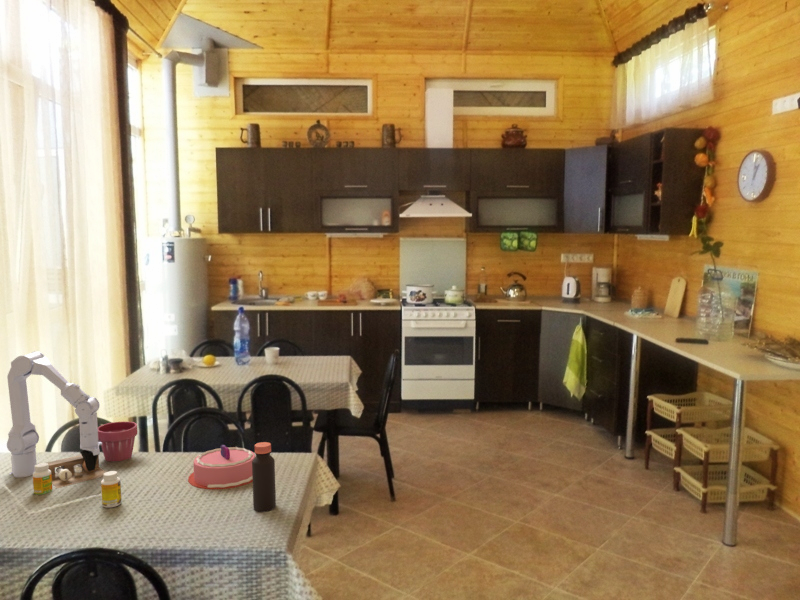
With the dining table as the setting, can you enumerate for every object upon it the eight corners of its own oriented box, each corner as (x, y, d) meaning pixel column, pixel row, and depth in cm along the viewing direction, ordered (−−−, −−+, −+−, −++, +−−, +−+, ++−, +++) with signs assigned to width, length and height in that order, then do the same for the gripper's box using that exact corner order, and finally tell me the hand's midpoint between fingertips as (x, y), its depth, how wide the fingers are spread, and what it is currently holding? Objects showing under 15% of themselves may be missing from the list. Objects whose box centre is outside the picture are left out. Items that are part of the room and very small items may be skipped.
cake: (273, 479, 219) (272, 449, 218) (201, 496, 205) (199, 464, 204) (246, 459, 240) (245, 431, 239) (179, 473, 226) (177, 444, 225)
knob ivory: (53, 475, 220) (52, 465, 220) (64, 473, 223) (64, 463, 223) (60, 482, 214) (60, 472, 214) (72, 479, 217) (71, 469, 216)
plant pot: (138, 462, 237) (137, 429, 235) (97, 468, 231) (95, 433, 230) (138, 451, 250) (137, 419, 249) (99, 456, 244) (97, 423, 243)
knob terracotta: (76, 465, 230) (76, 456, 230) (87, 463, 233) (86, 453, 232) (84, 471, 224) (84, 462, 224) (95, 469, 226) (94, 459, 226)
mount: (43, 477, 222) (42, 462, 221) (94, 465, 234) (93, 451, 233) (57, 490, 210) (55, 474, 210) (110, 477, 222) (109, 461, 221)
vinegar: (256, 514, 190) (254, 449, 189) (251, 505, 196) (248, 443, 195) (278, 509, 194) (276, 445, 192) (272, 501, 200) (270, 439, 198)
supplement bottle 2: (122, 506, 197) (120, 474, 196) (102, 509, 195) (100, 477, 194) (121, 499, 202) (119, 468, 201) (102, 503, 200) (100, 471, 199)
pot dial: (73, 476, 220) (72, 465, 220) (81, 474, 222) (80, 463, 222) (75, 478, 219) (74, 466, 218) (83, 476, 220) (83, 465, 220)
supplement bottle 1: (44, 497, 205) (42, 468, 204) (29, 496, 206) (27, 467, 205) (56, 491, 210) (54, 462, 209) (42, 489, 211) (40, 461, 210)
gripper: (108, 434, 220) (110, 472, 222) (94, 426, 231) (96, 462, 232) (86, 438, 216) (88, 477, 217) (73, 430, 226) (75, 467, 227)
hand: (91, 470), depth 224 cm, fingers closed
